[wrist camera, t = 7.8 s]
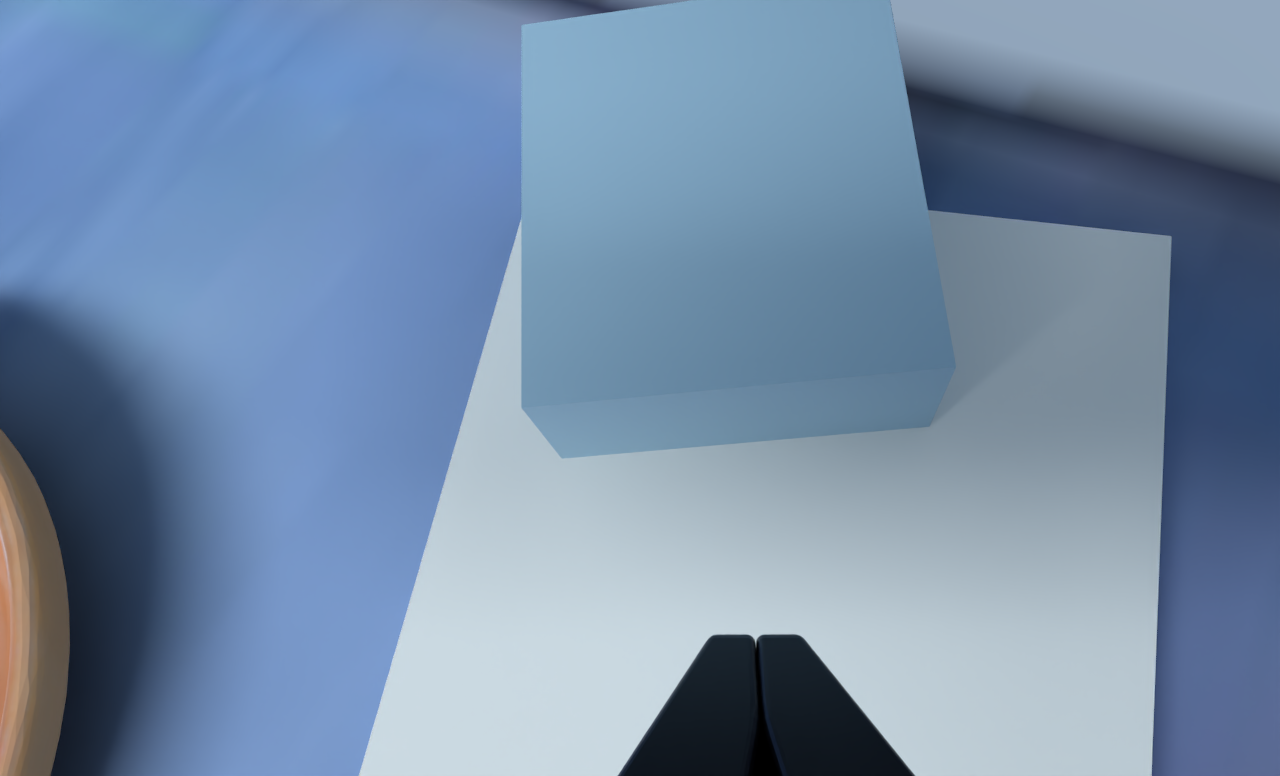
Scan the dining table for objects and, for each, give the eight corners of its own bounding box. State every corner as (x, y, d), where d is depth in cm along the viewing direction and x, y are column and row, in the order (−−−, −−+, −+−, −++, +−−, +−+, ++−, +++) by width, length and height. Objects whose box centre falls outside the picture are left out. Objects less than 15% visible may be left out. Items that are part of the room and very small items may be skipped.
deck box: (955, 366, 15) (885, -28, 18) (521, 407, 16) (521, 25, 18) (929, 426, 17) (871, 77, 20) (561, 458, 18) (556, 119, 21)
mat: (1128, 1026, 14) (1141, 1037, 14) (360, 816, 17) (346, 819, 16) (1159, 251, 19) (1171, 236, 18) (542, 182, 21) (535, 168, 21)
